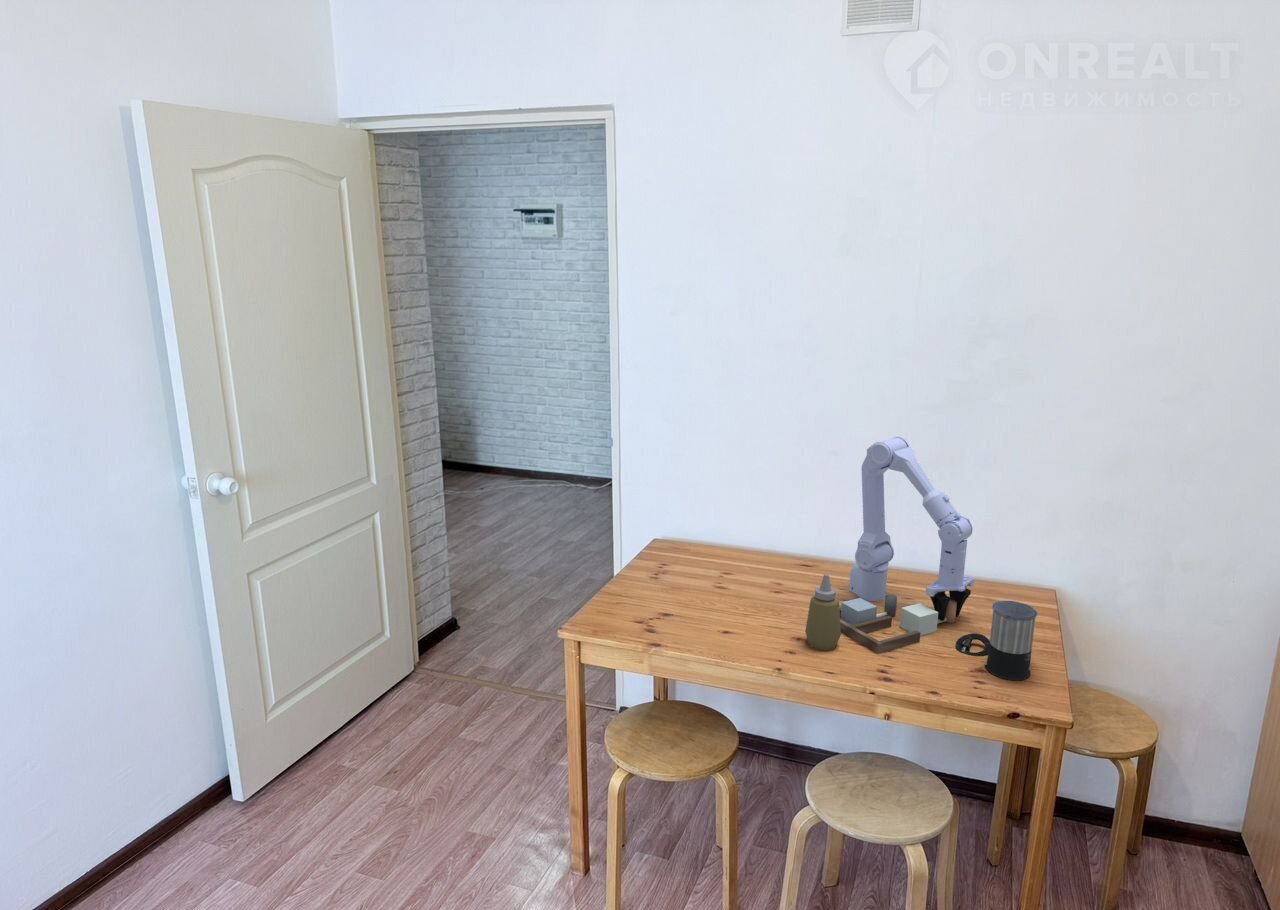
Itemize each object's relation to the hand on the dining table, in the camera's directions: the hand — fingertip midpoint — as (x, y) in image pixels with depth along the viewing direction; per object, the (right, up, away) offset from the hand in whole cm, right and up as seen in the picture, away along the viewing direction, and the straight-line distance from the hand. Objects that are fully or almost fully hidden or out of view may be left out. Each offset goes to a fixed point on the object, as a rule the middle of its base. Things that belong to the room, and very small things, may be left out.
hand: (947, 617), depth 203 cm
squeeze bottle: (-34, -5, -11) cm, 36 cm away
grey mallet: (-19, -1, +1) cm, 19 cm away
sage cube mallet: (-5, -2, -2) cm, 5 cm away
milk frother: (+3, -7, -19) cm, 20 cm away
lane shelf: (-14, -2, -2) cm, 14 cm away
